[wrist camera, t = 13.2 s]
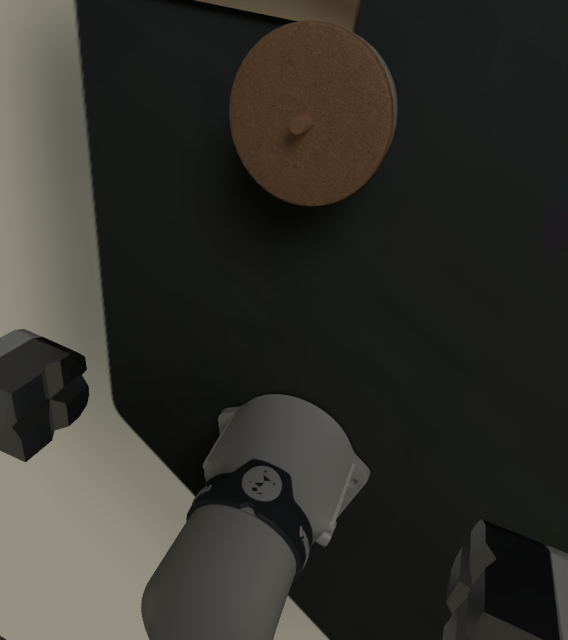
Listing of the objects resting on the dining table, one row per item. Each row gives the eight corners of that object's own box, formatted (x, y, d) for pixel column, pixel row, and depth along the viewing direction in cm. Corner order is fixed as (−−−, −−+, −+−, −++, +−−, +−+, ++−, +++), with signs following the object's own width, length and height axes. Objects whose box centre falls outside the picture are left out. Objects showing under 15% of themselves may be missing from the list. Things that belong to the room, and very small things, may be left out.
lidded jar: (255, 144, 39) (198, 168, 31) (302, -2, 32) (245, -16, 25) (368, 203, 38) (338, 242, 30) (439, 64, 31) (423, 70, 24)
